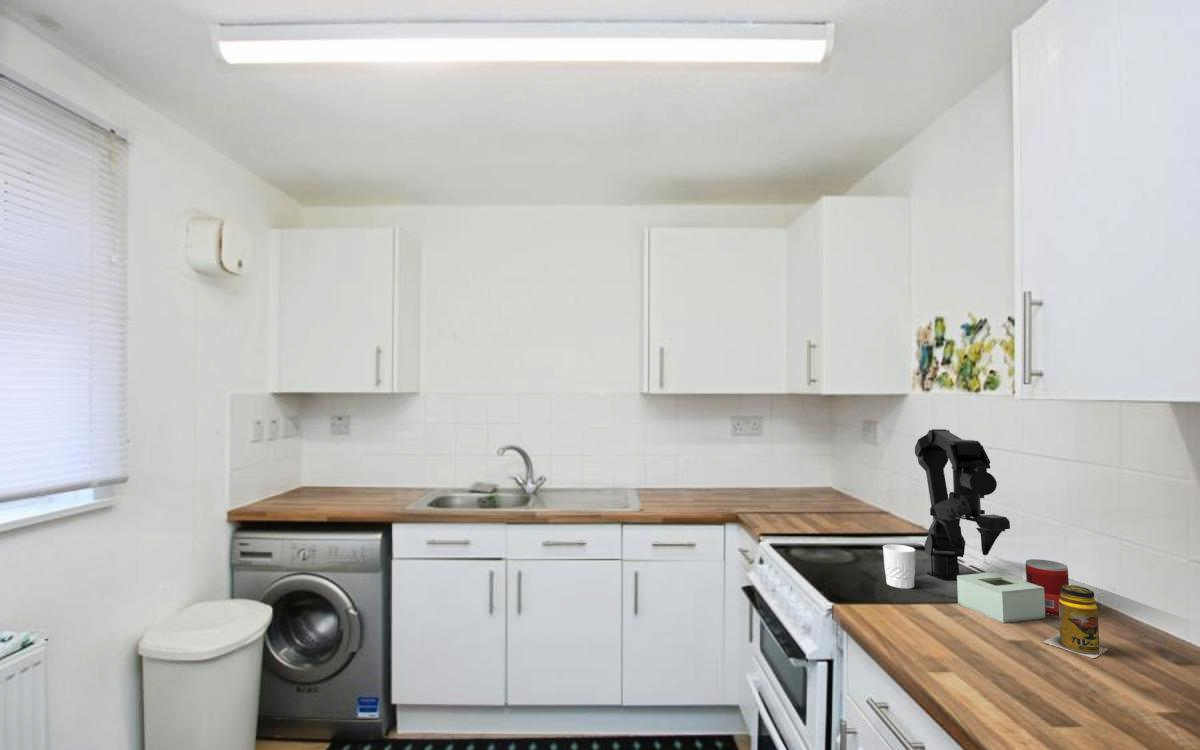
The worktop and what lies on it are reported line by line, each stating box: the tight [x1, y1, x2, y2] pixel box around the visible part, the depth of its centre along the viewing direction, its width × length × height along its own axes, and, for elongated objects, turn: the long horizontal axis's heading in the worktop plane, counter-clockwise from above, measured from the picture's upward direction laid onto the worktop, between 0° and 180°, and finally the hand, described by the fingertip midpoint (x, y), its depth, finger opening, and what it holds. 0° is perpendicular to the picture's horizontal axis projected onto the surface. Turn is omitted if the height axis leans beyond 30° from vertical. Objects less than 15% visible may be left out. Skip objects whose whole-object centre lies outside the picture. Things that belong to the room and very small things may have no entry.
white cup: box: [882, 543, 916, 590], centre depth 151 cm, size 8×8×10 cm
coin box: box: [956, 571, 1046, 624], centre depth 132 cm, size 12×12×7 cm
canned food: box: [1025, 558, 1070, 616], centre depth 133 cm, size 8×8×11 cm
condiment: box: [1042, 584, 1109, 659], centre depth 113 cm, size 7×8×12 cm
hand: (968, 550), depth 141 cm, fingers open, 9 cm apart
